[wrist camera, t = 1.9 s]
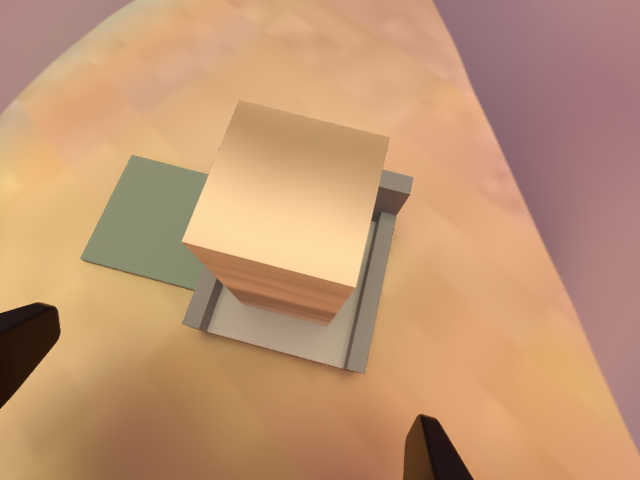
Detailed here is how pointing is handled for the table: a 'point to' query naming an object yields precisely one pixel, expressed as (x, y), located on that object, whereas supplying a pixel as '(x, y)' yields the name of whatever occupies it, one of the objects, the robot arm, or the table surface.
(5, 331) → the robot arm
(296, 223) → the birch block
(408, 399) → the table surface
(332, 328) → the tray
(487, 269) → the table surface
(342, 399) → the table surface
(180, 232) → the mat
